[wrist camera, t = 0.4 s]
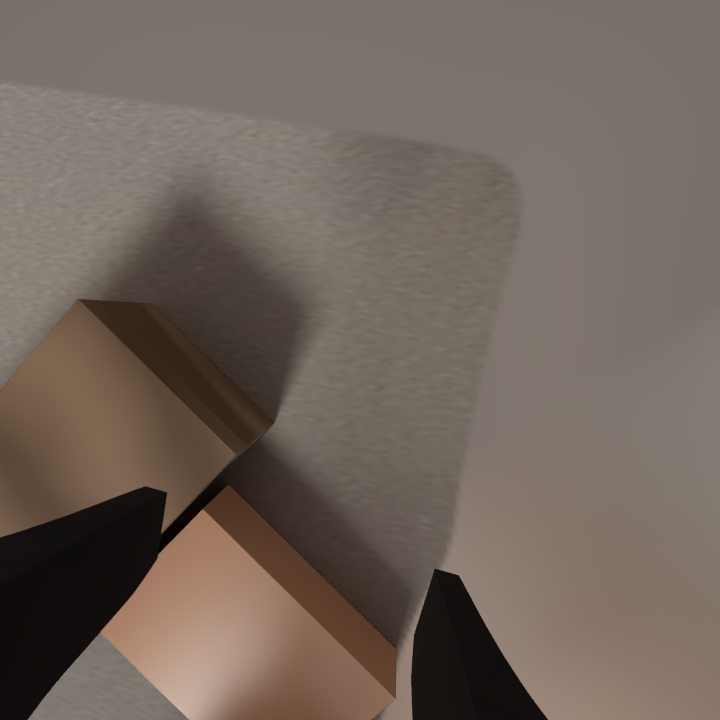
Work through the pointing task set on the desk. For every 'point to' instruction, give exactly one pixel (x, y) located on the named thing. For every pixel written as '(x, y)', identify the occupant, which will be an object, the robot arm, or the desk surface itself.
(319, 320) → the desk surface
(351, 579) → the desk surface
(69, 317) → the overhang shelf
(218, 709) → the tan rectangular slab
